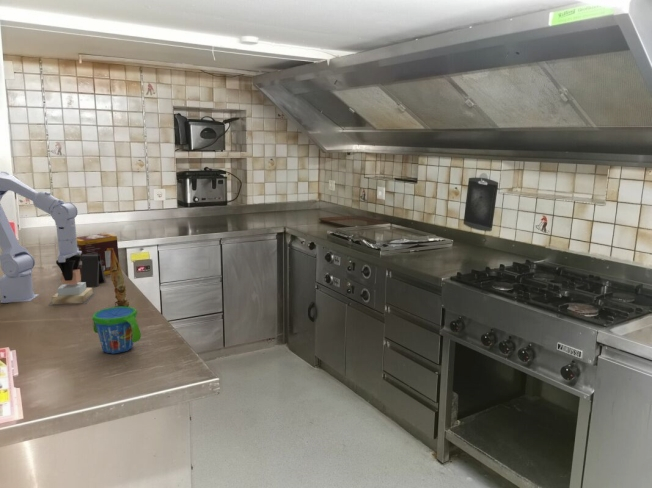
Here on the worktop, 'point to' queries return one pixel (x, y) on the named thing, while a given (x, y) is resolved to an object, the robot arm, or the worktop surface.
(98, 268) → the phone stand
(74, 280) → the terracotta block
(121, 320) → the snack cup
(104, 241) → the supplement box
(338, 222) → the worktop surface
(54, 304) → the rubber mat
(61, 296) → the oak slab
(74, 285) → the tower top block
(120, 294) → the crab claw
